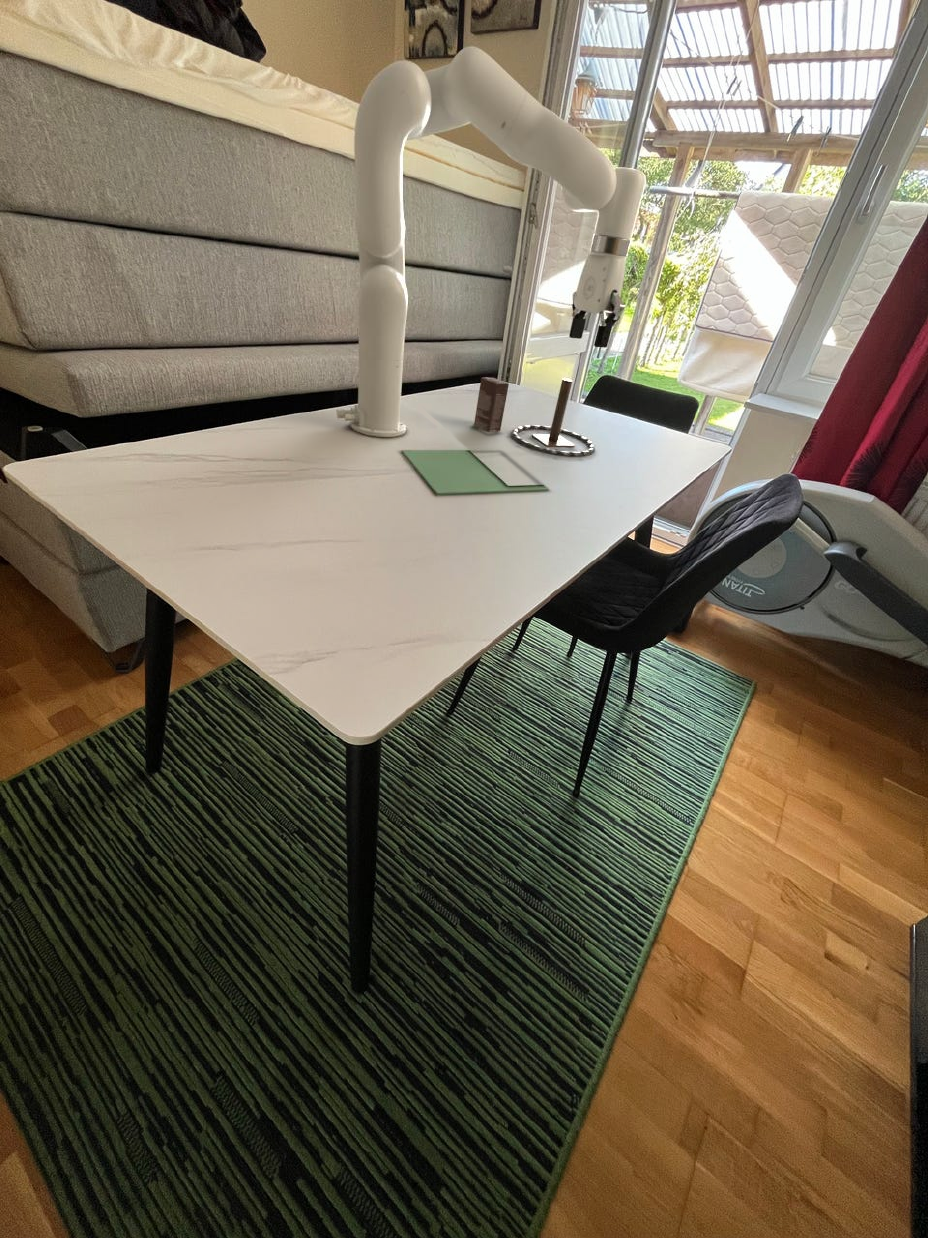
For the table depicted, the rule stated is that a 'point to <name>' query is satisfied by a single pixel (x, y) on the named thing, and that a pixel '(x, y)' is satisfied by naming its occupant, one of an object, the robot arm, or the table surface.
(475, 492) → the mat
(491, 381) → the box
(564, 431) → the ring
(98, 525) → the table surface
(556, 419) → the post
